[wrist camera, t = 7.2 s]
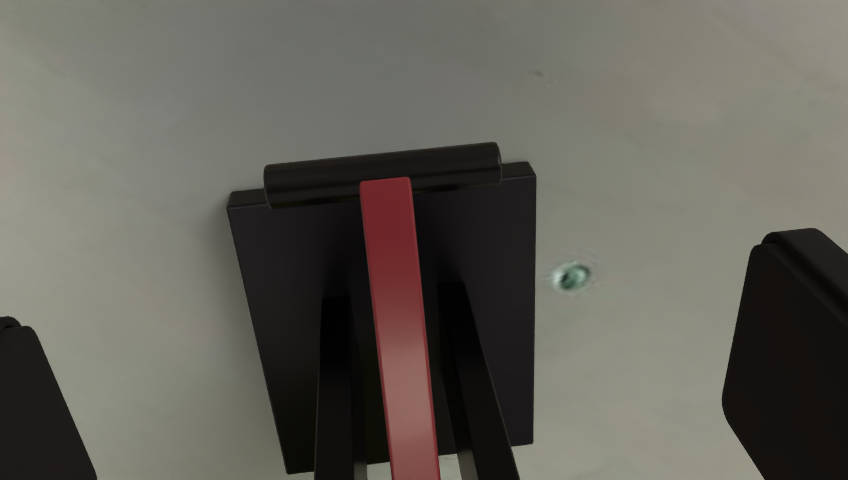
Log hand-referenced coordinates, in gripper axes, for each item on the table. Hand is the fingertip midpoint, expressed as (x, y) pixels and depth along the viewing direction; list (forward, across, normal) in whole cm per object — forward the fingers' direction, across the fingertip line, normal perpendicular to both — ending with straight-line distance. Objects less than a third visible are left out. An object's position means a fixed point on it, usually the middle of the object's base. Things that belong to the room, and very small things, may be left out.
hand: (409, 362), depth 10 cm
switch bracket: (+14, 0, +10) cm, 17 cm away
